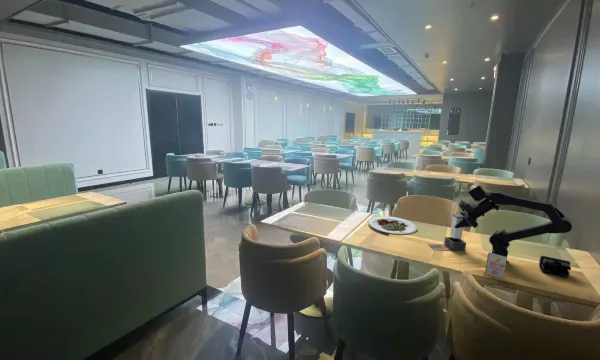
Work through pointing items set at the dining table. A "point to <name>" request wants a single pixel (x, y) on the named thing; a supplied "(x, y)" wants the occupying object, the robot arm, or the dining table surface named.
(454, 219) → the plug
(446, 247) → the socket deck
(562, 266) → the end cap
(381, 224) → the plated food
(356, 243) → the dining table surface
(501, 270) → the tea bag
